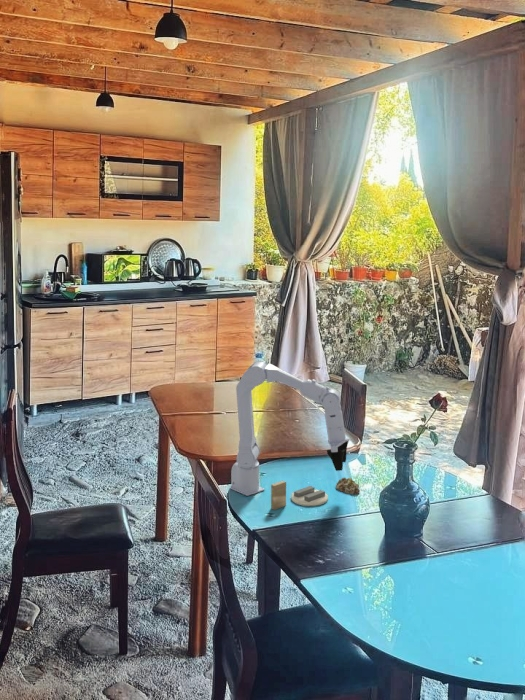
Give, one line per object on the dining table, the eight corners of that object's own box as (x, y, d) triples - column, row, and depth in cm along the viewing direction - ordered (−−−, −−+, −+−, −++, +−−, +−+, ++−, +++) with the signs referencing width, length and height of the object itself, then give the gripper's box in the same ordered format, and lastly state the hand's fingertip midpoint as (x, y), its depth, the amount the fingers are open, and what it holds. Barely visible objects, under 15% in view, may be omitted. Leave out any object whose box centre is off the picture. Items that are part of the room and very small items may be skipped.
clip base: (283, 498, 240) (283, 491, 239) (309, 488, 247) (309, 482, 247) (309, 509, 231) (309, 501, 230) (335, 499, 239) (335, 492, 238)
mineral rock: (329, 479, 250) (349, 470, 253) (332, 490, 252) (352, 481, 254) (344, 491, 241) (365, 482, 243) (347, 503, 242) (367, 493, 244)
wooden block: (271, 508, 232) (271, 484, 230) (282, 504, 235) (282, 480, 233) (274, 509, 231) (274, 485, 229) (285, 505, 234) (286, 482, 232)
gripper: (344, 432, 229) (349, 473, 231) (350, 418, 243) (355, 457, 245) (322, 433, 231) (328, 474, 233) (329, 420, 245) (335, 459, 247)
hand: (340, 466), depth 239 cm, fingers open, 7 cm apart
